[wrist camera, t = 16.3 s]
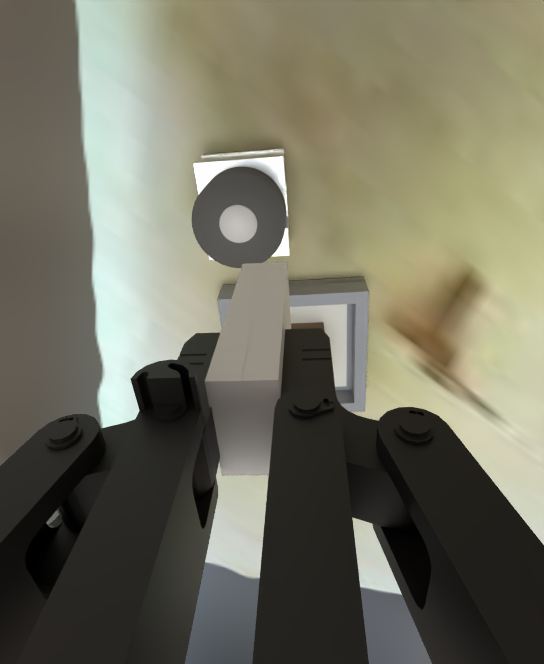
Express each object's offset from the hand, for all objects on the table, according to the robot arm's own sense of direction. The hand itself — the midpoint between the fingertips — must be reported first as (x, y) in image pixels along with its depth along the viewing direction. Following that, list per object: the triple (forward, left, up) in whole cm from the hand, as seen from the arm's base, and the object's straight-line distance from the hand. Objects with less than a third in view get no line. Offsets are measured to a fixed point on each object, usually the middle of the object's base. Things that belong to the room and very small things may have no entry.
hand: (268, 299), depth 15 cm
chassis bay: (+14, 0, -21) cm, 25 cm away
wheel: (+1, -3, -20) cm, 20 cm away
